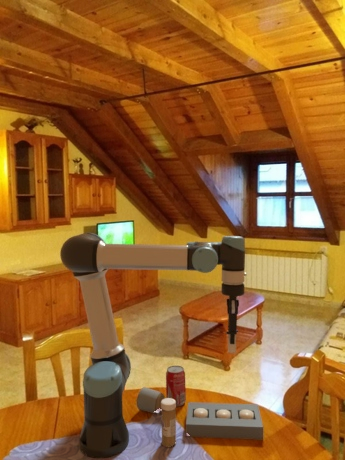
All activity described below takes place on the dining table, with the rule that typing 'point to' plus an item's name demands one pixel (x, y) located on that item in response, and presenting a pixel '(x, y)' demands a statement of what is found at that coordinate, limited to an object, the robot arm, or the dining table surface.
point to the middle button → (223, 414)
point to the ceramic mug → (149, 400)
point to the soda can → (176, 384)
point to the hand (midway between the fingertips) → (231, 352)
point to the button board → (224, 422)
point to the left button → (201, 413)
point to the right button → (246, 414)
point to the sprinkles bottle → (168, 422)
